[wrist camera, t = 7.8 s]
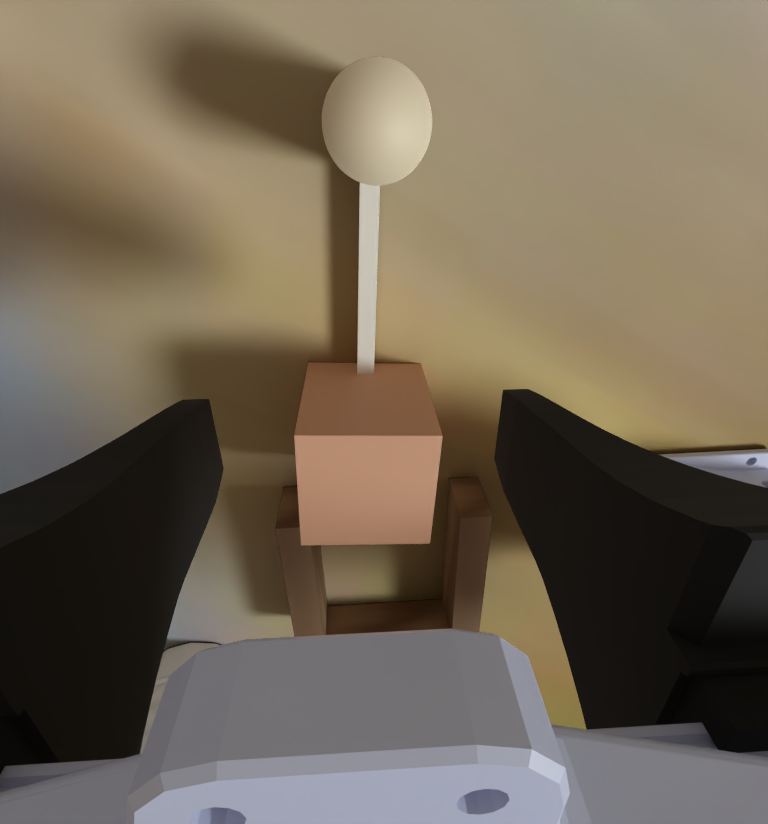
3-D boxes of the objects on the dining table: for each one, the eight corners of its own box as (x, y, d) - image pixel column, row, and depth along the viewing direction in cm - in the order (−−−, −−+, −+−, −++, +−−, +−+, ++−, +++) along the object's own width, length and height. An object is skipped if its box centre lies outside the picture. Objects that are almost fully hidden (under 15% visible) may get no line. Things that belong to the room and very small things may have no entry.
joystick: (444, 84, 16) (487, 59, 11) (413, 455, 24) (429, 543, 19) (296, 76, 16) (269, 47, 11) (312, 455, 24) (301, 545, 18)
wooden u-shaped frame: (477, 476, 25) (492, 516, 22) (465, 606, 30) (476, 651, 27) (283, 487, 24) (275, 528, 22) (303, 616, 29) (299, 663, 27)
